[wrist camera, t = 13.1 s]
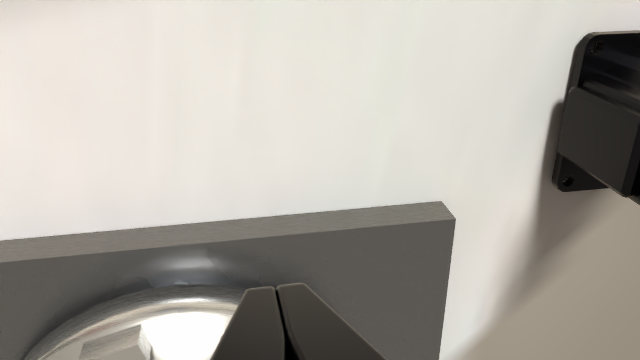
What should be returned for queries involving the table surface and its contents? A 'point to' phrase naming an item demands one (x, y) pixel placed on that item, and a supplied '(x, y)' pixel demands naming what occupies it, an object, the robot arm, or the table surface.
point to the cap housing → (247, 270)
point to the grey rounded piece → (146, 326)
